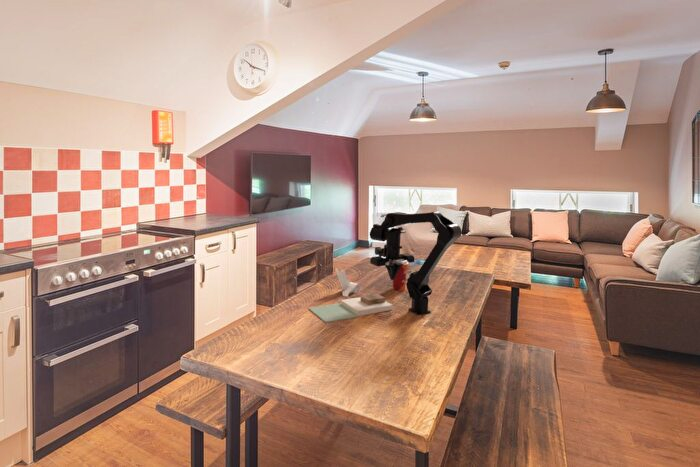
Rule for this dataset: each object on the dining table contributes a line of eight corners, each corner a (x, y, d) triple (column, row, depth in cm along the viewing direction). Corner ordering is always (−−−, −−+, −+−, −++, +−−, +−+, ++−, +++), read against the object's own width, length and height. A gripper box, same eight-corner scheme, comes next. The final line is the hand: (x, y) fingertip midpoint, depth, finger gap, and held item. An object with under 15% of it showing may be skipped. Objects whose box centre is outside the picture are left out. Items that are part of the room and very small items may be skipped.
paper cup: (408, 291, 189) (409, 262, 187) (391, 291, 189) (392, 261, 187) (406, 286, 197) (407, 258, 194) (390, 286, 197) (391, 257, 195)
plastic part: (360, 292, 187) (361, 267, 186) (347, 297, 180) (348, 271, 178) (347, 288, 192) (348, 264, 190) (333, 293, 184) (334, 268, 182)
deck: (392, 309, 165) (392, 305, 164) (357, 316, 157) (357, 311, 157) (373, 299, 177) (373, 295, 177) (340, 304, 169) (340, 300, 169)
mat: (359, 316, 156) (359, 315, 156) (325, 322, 150) (325, 321, 150) (339, 304, 170) (339, 303, 170) (308, 308, 163) (308, 308, 163)
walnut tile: (377, 298, 173) (377, 293, 172) (384, 302, 167) (385, 297, 167) (360, 300, 169) (360, 296, 168) (368, 305, 164) (368, 300, 163)
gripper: (400, 238, 180) (398, 272, 182) (363, 241, 171) (362, 277, 174) (416, 242, 170) (414, 279, 173) (378, 246, 161) (377, 284, 164)
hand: (391, 279), depth 171 cm, fingers closed
